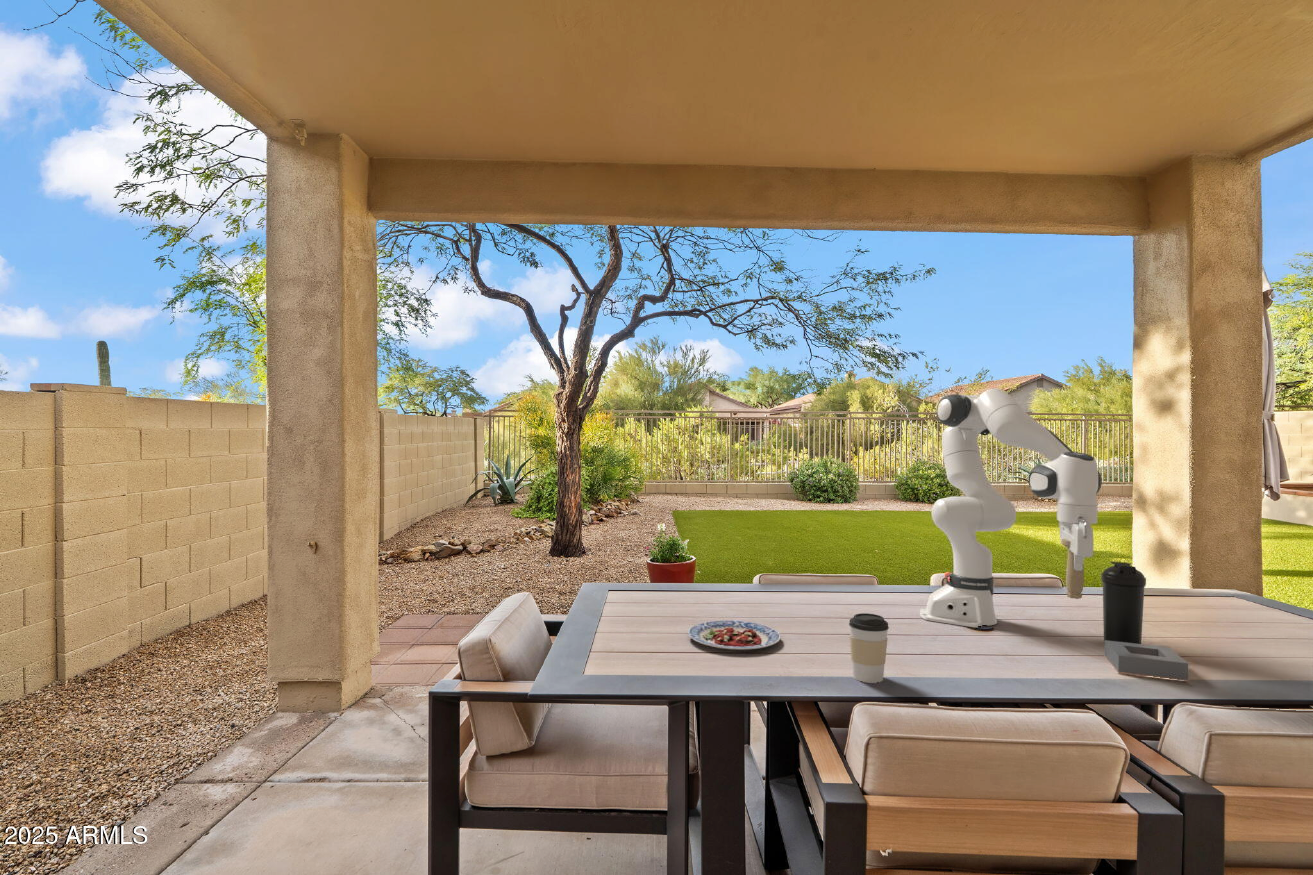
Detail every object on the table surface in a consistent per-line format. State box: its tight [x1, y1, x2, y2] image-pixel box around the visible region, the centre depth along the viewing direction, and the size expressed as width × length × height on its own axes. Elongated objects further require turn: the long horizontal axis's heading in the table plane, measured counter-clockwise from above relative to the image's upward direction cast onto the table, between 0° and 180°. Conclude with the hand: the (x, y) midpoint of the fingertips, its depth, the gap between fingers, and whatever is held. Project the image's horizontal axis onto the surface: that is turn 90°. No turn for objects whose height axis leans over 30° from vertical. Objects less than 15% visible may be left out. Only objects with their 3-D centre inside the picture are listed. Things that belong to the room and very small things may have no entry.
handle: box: [1061, 539, 1085, 600], centre depth 171 cm, size 5×6×15 cm
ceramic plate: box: [688, 619, 782, 651], centre depth 185 cm, size 26×26×3 cm
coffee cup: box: [848, 612, 890, 684], centre depth 157 cm, size 9×9×15 cm
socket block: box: [1103, 640, 1189, 682], centre depth 165 cm, size 14×13×4 cm
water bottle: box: [1100, 561, 1147, 646], centre depth 183 cm, size 10×10×23 cm
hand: (1075, 568), depth 171 cm, fingers closed on handle, 3 cm apart
